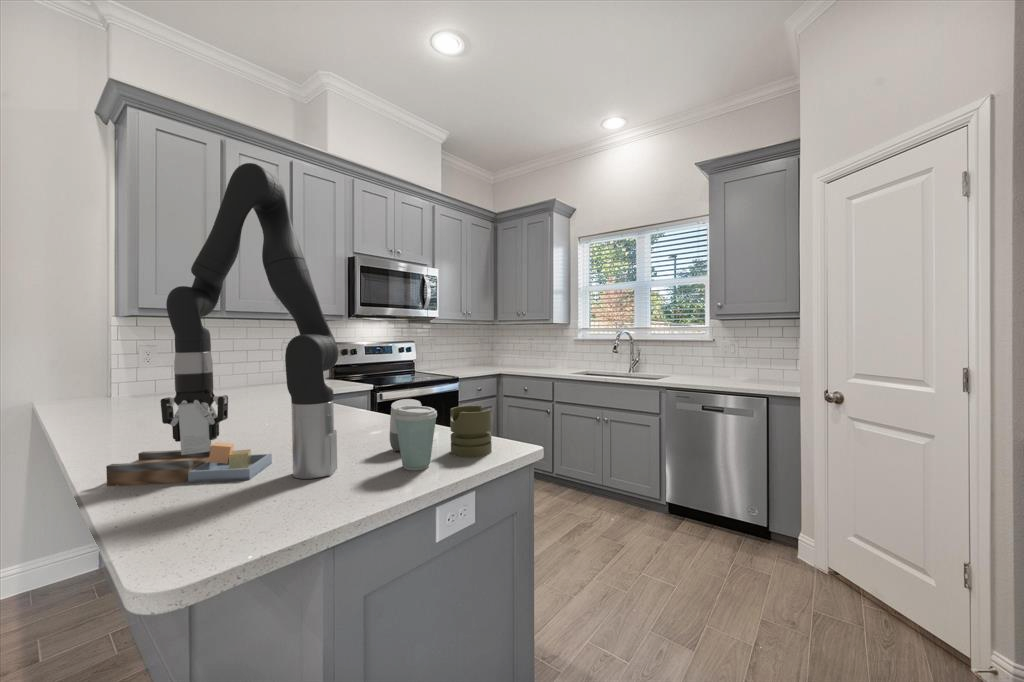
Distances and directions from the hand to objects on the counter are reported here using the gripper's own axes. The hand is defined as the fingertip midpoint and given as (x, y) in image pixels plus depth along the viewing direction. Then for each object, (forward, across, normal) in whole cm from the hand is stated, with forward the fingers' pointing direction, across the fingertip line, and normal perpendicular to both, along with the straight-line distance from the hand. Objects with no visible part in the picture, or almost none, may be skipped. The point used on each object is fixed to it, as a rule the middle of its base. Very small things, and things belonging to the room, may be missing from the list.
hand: (196, 439), depth 109 cm
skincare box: (+3, 0, 0) cm, 3 cm away
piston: (+9, -66, -9) cm, 67 cm away
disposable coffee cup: (+9, -52, +3) cm, 53 cm away
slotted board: (+8, +7, 0) cm, 11 cm away
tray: (+8, -8, 0) cm, 11 cm away
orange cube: (+5, -5, -1) cm, 7 cm away
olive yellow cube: (+6, -7, -1) cm, 9 cm away
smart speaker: (+9, -48, -14) cm, 51 cm away
